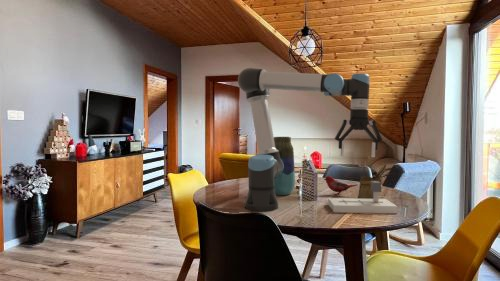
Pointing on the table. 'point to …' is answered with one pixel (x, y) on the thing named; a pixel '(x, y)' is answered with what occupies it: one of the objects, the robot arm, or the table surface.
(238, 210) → the table surface
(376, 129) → the robot arm
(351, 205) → the board
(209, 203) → the table surface
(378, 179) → the brown watering can
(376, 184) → the fader
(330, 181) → the decorative bird figurine
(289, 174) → the vase
